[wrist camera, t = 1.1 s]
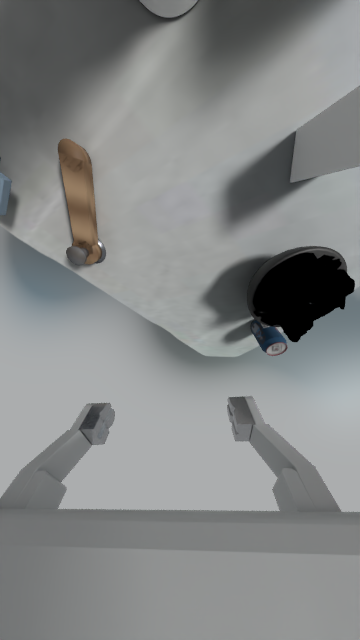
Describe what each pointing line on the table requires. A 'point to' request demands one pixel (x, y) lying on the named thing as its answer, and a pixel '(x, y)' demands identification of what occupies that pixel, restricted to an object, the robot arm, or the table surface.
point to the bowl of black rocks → (299, 289)
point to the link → (80, 202)
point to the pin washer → (102, 252)
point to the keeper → (4, 192)
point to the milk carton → (329, 140)
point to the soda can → (269, 338)
